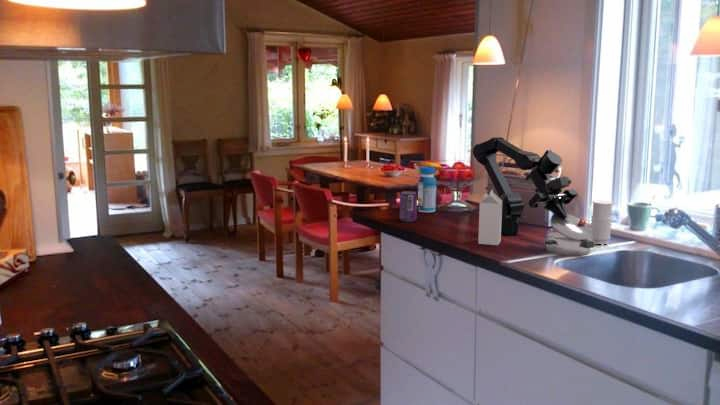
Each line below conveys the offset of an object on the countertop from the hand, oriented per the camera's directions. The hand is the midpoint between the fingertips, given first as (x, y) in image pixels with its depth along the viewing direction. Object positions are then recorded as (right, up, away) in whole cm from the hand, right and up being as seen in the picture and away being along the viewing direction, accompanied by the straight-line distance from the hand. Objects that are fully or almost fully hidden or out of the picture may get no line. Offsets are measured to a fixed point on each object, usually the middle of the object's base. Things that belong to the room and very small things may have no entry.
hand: (565, 218), depth 219 cm
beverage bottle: (-40, +1, +72) cm, 82 cm away
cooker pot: (+1, -11, -1) cm, 11 cm away
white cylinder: (+16, -9, +11) cm, 22 cm away
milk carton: (-24, -9, +12) cm, 28 cm away
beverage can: (-50, -2, +50) cm, 71 cm away
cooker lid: (+1, -3, -2) cm, 4 cm away
